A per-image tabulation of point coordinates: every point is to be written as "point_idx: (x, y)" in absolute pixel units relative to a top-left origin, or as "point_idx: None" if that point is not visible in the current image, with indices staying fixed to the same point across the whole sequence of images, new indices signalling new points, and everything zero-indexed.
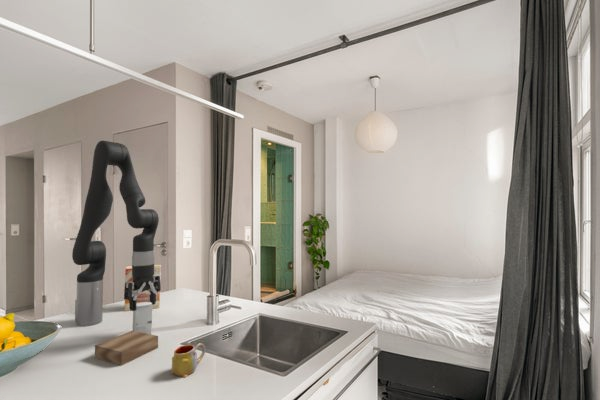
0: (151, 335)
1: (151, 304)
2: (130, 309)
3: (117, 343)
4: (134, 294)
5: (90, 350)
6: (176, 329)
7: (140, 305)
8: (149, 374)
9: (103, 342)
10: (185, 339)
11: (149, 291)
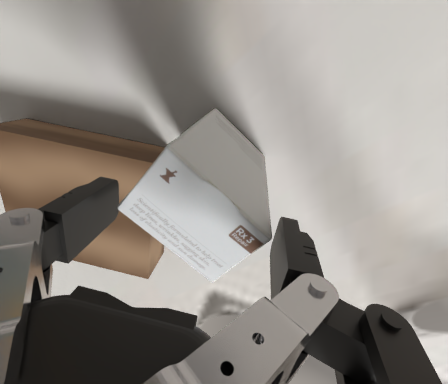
0: (142, 258)
1: (208, 277)
2: (100, 178)
3: (39, 194)
4: (39, 263)
5: (48, 41)
6: (328, 233)
7: (148, 231)
8: (56, 295)
9: (14, 138)
10: (242, 293)
11: (275, 303)
